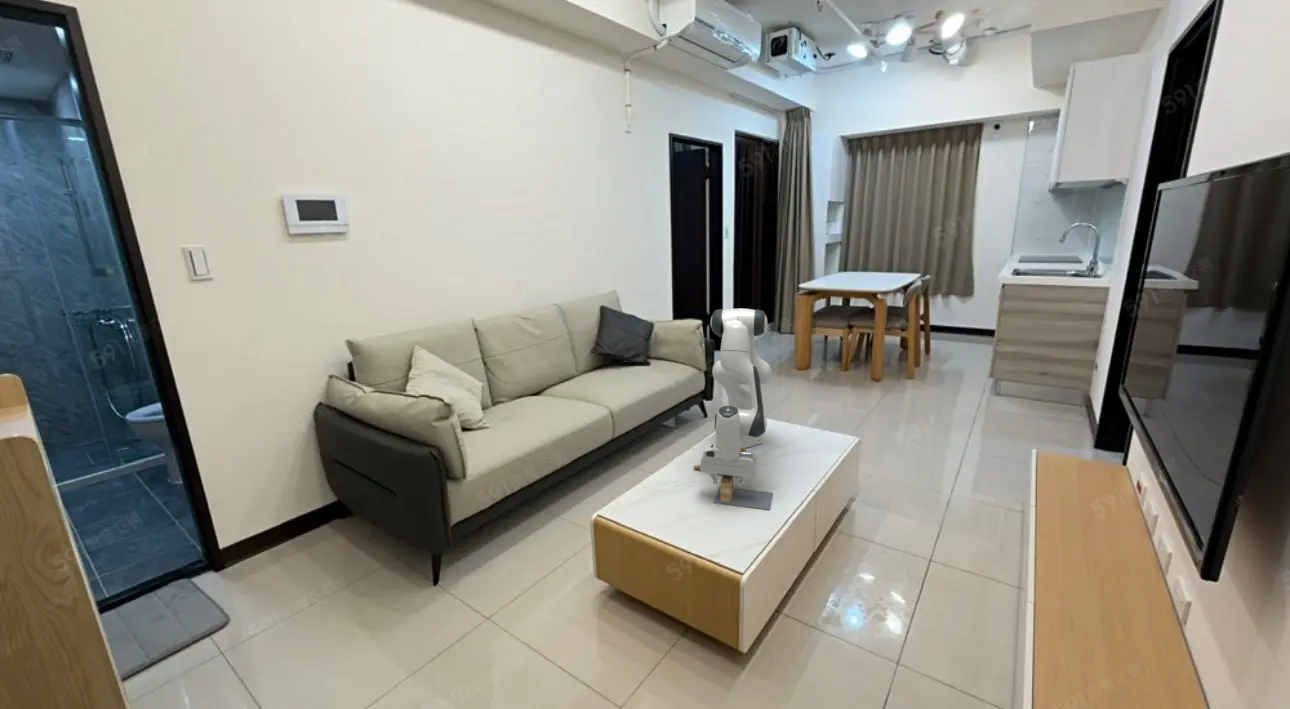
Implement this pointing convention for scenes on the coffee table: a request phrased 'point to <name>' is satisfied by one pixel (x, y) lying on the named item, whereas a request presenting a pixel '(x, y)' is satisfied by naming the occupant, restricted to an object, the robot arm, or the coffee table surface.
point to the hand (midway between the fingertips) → (727, 484)
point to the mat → (748, 499)
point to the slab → (727, 488)
